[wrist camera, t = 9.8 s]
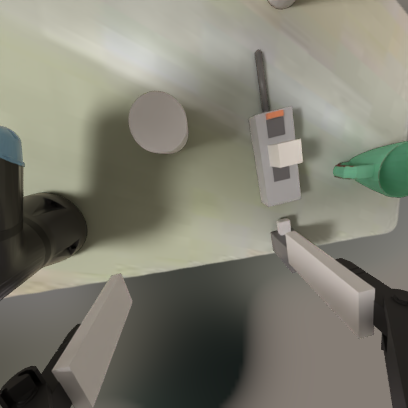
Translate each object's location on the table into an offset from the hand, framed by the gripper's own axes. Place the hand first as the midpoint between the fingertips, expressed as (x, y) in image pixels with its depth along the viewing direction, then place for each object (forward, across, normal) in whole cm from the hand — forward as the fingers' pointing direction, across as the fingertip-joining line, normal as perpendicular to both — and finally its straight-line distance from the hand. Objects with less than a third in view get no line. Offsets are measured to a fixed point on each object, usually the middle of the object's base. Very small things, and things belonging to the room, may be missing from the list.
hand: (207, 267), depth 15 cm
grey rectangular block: (+27, +18, -14) cm, 36 cm away
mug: (+28, +34, -2) cm, 44 cm away
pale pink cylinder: (+28, -2, +14) cm, 31 cm away
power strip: (+28, +18, +9) cm, 34 cm away
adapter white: (+24, +18, +5) cm, 30 cm away
